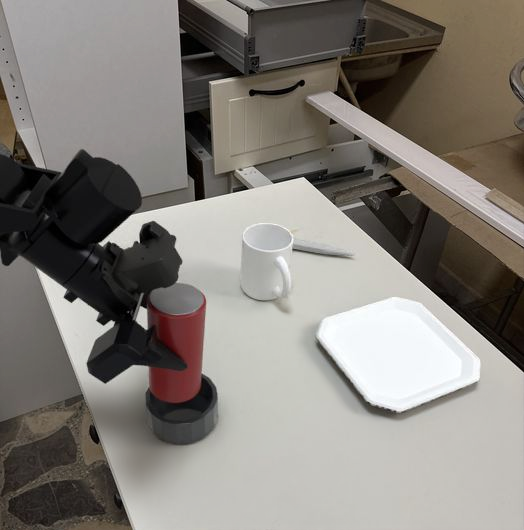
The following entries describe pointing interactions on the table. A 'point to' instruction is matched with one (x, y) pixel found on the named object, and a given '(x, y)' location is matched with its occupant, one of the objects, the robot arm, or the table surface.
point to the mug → (266, 261)
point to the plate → (398, 353)
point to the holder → (184, 415)
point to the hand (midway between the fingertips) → (189, 347)
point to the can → (178, 339)
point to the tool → (319, 248)
